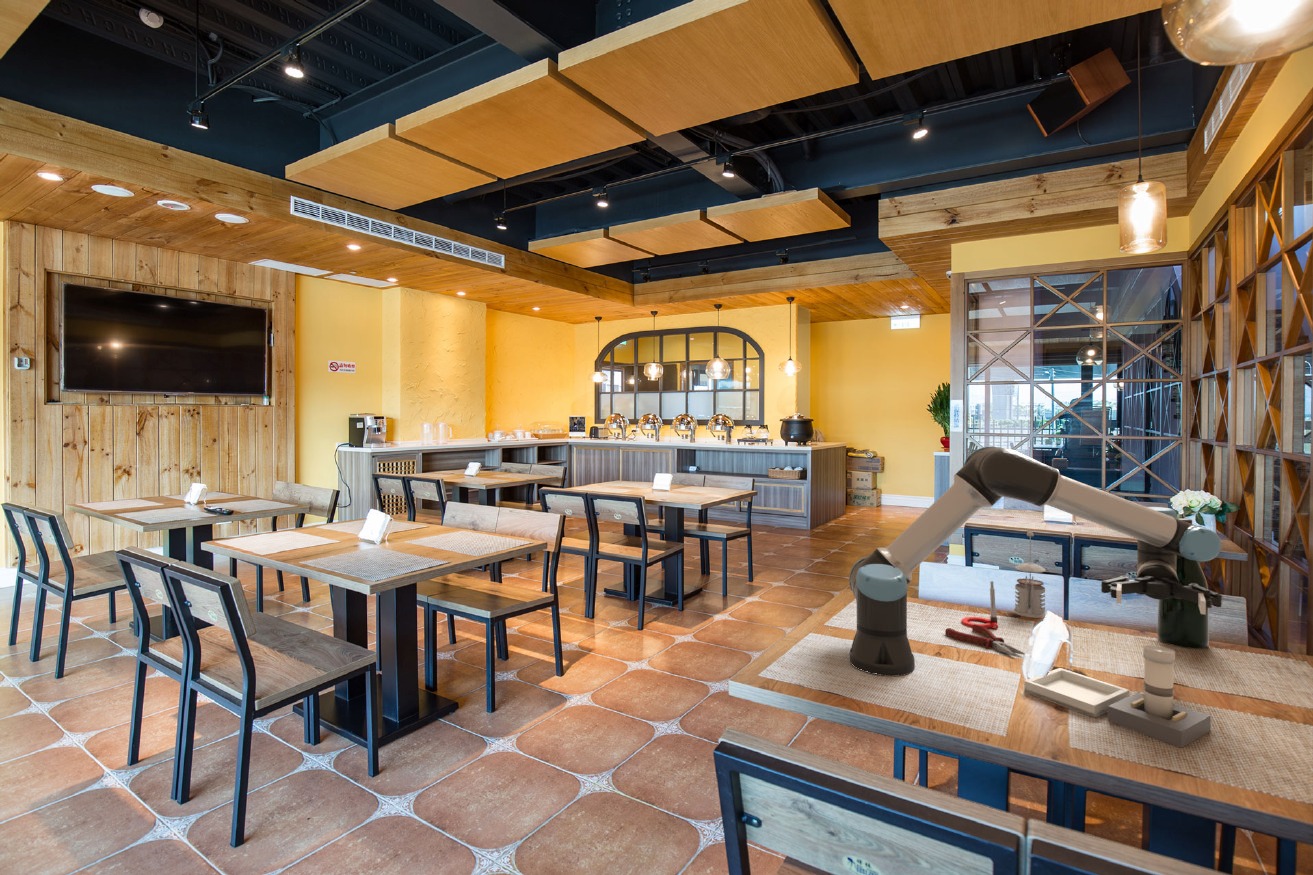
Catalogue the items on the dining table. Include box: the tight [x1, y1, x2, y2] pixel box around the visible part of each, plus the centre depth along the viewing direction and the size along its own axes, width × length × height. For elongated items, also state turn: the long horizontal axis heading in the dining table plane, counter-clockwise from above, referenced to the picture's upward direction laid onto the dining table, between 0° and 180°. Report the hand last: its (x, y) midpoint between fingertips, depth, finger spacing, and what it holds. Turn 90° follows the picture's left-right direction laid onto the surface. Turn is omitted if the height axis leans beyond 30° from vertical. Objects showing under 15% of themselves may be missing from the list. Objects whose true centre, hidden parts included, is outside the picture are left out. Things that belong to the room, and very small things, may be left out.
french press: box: [1011, 531, 1047, 619], centre depth 193 cm, size 10×12×25 cm
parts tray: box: [1023, 667, 1130, 719], centre depth 136 cm, size 14×14×2 cm
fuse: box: [1142, 644, 1176, 720], centre depth 123 cm, size 5×5×15 cm
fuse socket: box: [1107, 692, 1212, 749], centre depth 123 cm, size 12×12×4 cm
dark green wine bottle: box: [1157, 517, 1210, 650], centre depth 166 cm, size 10×10×33 cm
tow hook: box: [961, 580, 999, 630], centre depth 184 cm, size 8×13×9 cm
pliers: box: [945, 625, 1025, 657], centre depth 168 cm, size 12×20×3 cm, turn 17°
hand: (1159, 602), depth 130 cm, fingers open, 13 cm apart
